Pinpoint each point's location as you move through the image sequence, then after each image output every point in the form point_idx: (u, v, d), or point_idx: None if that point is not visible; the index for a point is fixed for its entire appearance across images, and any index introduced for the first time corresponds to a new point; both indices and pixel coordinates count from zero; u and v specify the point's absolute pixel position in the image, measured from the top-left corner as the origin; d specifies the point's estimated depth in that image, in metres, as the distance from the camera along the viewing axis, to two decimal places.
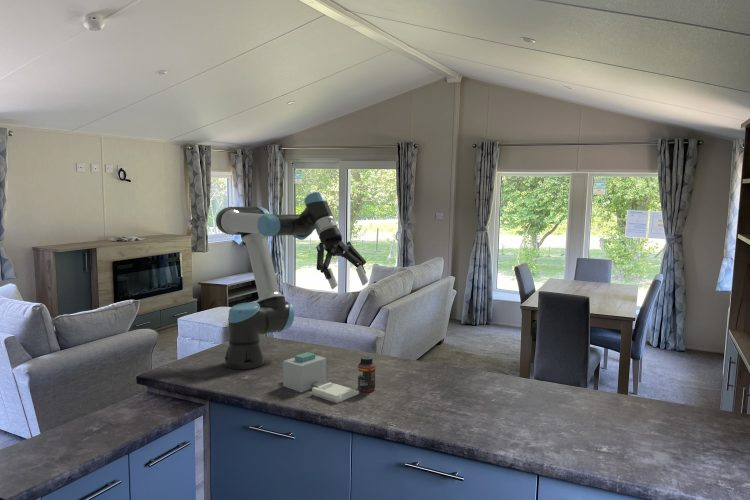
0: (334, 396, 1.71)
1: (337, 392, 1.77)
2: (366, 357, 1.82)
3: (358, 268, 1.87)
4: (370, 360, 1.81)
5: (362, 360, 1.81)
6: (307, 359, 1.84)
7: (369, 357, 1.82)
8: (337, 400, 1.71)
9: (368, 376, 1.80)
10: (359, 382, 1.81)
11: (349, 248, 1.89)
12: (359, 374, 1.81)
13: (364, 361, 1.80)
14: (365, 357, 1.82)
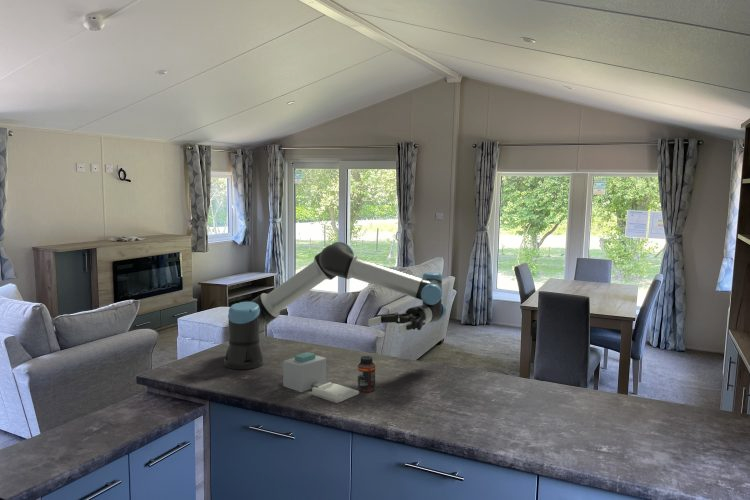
0: (334, 396, 1.71)
1: (337, 392, 1.77)
2: (366, 357, 1.82)
3: (380, 320, 1.97)
4: (370, 360, 1.81)
5: (362, 360, 1.81)
6: (307, 359, 1.84)
7: (369, 357, 1.82)
8: (337, 400, 1.71)
9: (368, 376, 1.80)
10: (359, 382, 1.81)
11: None
12: (359, 374, 1.81)
13: (364, 361, 1.80)
14: (365, 357, 1.82)
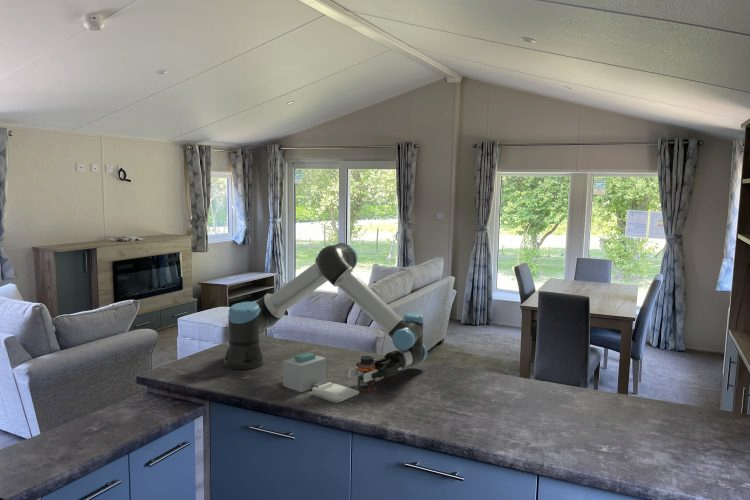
0: (334, 396, 1.71)
1: (337, 392, 1.77)
2: (366, 357, 1.82)
3: None
4: (370, 360, 1.81)
5: (362, 360, 1.81)
6: (307, 359, 1.84)
7: (369, 357, 1.82)
8: (337, 400, 1.71)
9: None
10: (359, 382, 1.81)
11: None
12: (359, 374, 1.81)
13: (364, 361, 1.80)
14: (365, 357, 1.82)
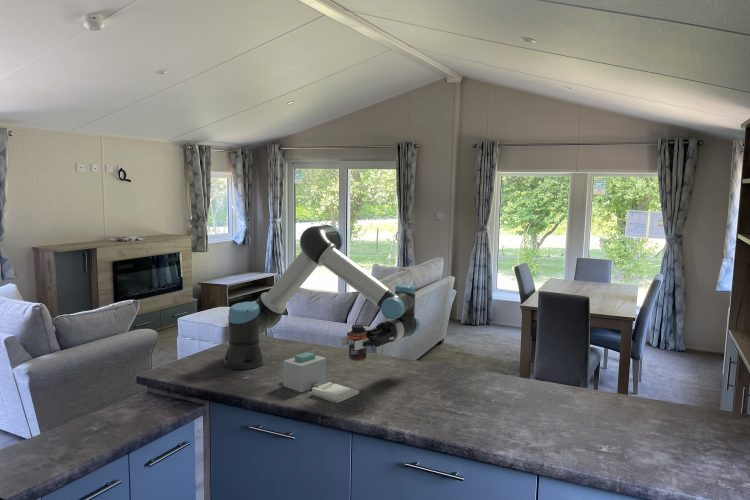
0: (334, 396, 1.71)
1: (337, 392, 1.77)
2: (358, 325, 1.79)
3: None
4: (361, 328, 1.78)
5: (353, 328, 1.78)
6: (307, 359, 1.84)
7: (360, 325, 1.79)
8: (337, 400, 1.71)
9: None
10: (350, 351, 1.78)
11: None
12: (350, 343, 1.78)
13: (355, 329, 1.77)
14: (356, 325, 1.79)
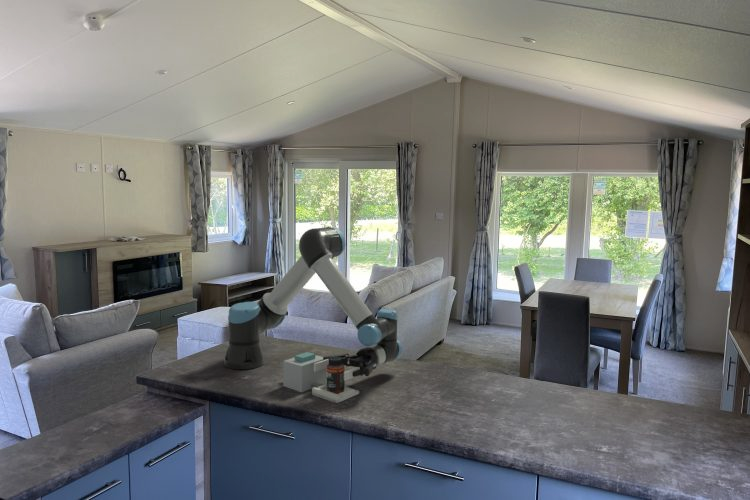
0: (334, 396, 1.71)
1: None
2: (335, 358, 1.77)
3: (327, 363, 1.83)
4: (339, 361, 1.76)
5: (331, 361, 1.76)
6: (307, 359, 1.84)
7: (338, 358, 1.77)
8: (337, 400, 1.71)
9: (337, 377, 1.75)
10: (328, 384, 1.76)
11: None
12: (328, 376, 1.76)
13: (333, 362, 1.75)
14: (334, 358, 1.77)
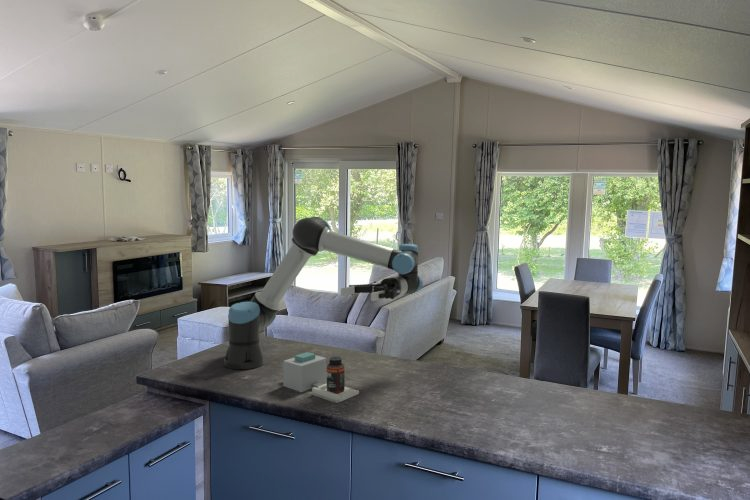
0: (334, 396, 1.71)
1: None
2: (335, 358, 1.77)
3: (353, 290, 1.93)
4: (339, 361, 1.76)
5: (331, 361, 1.76)
6: (307, 359, 1.84)
7: (338, 358, 1.77)
8: (337, 400, 1.71)
9: (337, 377, 1.75)
10: (328, 384, 1.76)
11: None
12: (328, 376, 1.76)
13: (333, 362, 1.75)
14: (334, 358, 1.77)
